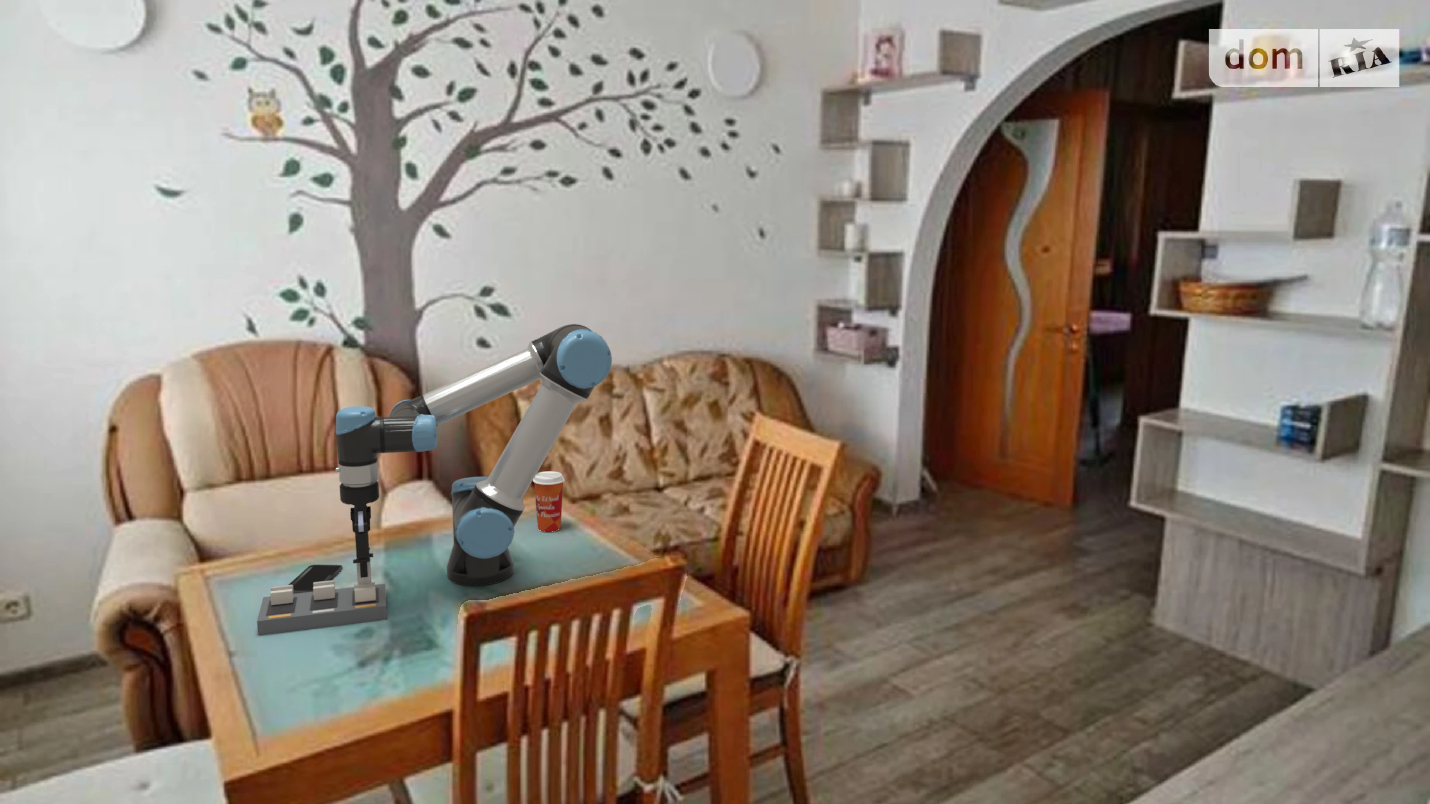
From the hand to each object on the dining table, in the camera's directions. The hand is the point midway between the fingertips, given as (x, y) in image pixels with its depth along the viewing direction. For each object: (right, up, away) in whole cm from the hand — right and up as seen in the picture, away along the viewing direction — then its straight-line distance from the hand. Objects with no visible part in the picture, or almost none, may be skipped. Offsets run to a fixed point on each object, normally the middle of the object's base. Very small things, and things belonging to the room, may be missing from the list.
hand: (365, 589), depth 191 cm
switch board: (-7, -5, -2) cm, 9 cm away
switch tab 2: (-8, -1, -1) cm, 8 cm away
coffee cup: (+29, +5, +52) cm, 60 cm away
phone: (-17, -2, +15) cm, 23 cm away
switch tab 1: (-15, -2, -4) cm, 16 cm away
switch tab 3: (+1, -2, -2) cm, 2 cm away
